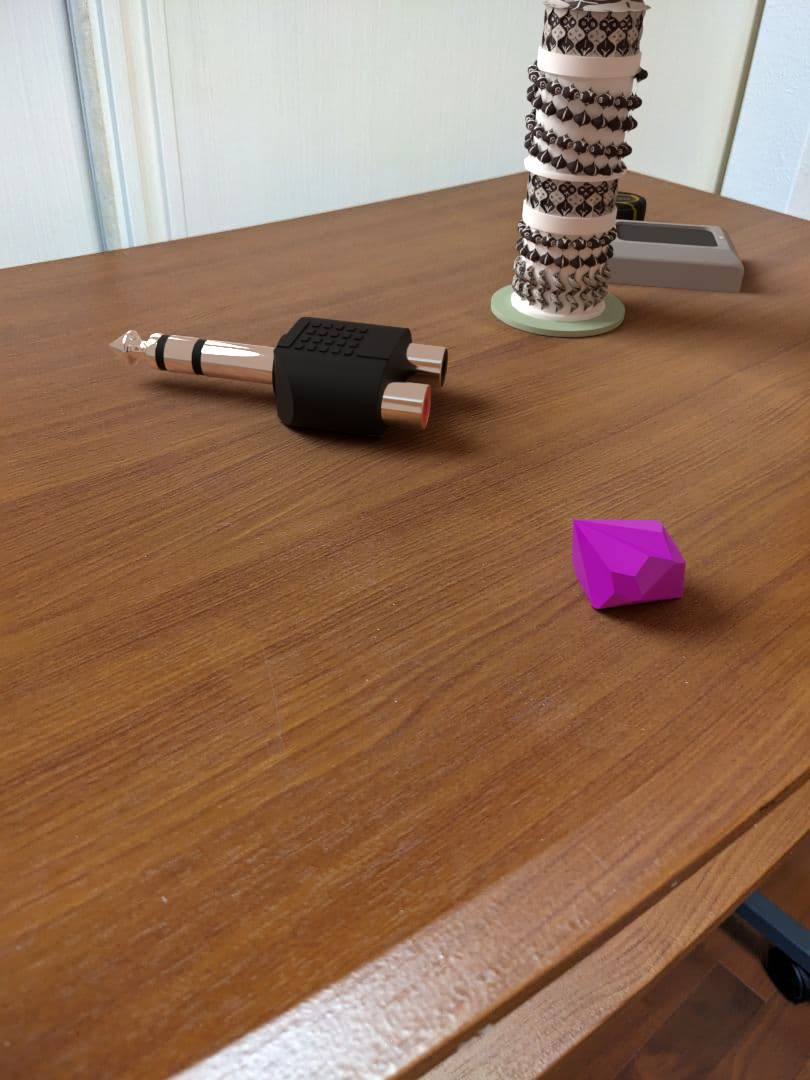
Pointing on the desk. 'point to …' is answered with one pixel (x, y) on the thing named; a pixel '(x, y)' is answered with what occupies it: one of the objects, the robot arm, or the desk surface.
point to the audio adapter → (315, 372)
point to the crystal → (626, 562)
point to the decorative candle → (576, 155)
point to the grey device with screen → (674, 256)
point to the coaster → (594, 326)
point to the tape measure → (630, 206)
